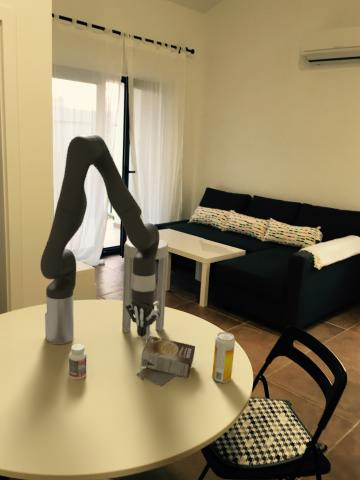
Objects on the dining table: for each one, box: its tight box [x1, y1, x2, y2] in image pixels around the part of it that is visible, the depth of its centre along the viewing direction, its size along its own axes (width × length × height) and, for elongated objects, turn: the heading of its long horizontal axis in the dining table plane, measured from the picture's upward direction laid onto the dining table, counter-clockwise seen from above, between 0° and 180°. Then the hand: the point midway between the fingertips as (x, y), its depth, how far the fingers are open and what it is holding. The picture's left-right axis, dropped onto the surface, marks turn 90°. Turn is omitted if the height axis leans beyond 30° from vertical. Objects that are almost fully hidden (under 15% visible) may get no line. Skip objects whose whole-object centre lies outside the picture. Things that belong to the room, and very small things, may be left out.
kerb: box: [140, 369, 156, 381], centre depth 146 cm, size 1×14×1 cm, turn 146°
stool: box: [121, 238, 169, 341], centre depth 168 cm, size 16×16×35 cm
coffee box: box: [139, 334, 196, 378], centre depth 147 cm, size 9×6×16 cm
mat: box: [136, 367, 177, 387], centre depth 145 cm, size 10×12×1 cm
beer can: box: [211, 331, 236, 384], centre depth 142 cm, size 6×6×15 cm
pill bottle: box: [68, 343, 87, 380], centre depth 140 cm, size 5×5×10 cm
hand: (141, 335), depth 147 cm, fingers closed
